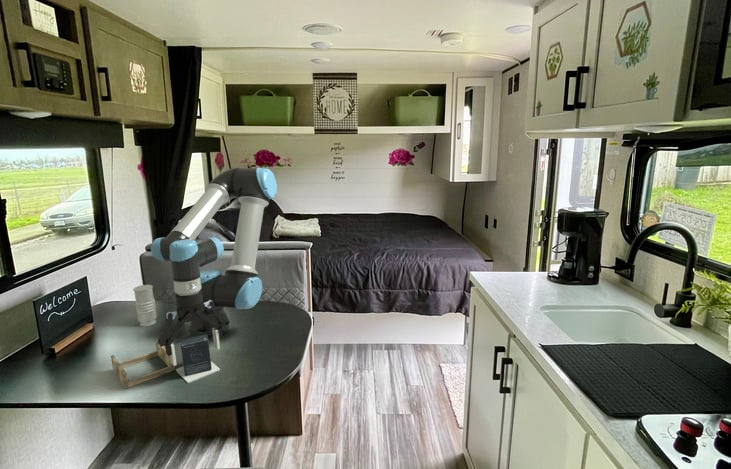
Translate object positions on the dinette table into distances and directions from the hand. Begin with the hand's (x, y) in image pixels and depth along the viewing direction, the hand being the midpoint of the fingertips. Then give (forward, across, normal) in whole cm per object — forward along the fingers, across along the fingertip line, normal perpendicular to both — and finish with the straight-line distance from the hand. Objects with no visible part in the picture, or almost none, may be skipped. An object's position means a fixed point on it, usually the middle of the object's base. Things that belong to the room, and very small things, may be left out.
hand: (196, 355), depth 125 cm
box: (+5, 0, 0) cm, 5 cm away
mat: (+5, 0, 0) cm, 5 cm away
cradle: (+5, -12, +12) cm, 18 cm away
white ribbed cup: (+5, 0, +49) cm, 49 cm away
